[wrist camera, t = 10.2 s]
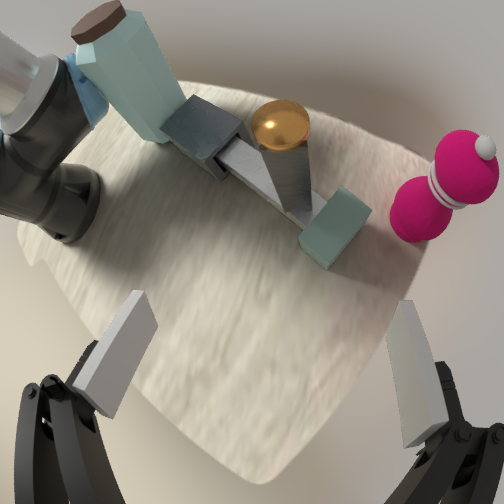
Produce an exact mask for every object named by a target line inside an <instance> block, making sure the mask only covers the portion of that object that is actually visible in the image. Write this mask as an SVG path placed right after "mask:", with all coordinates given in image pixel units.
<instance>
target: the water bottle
mask: <svg viewBox="0 0 504 504" xmlns="http://www.w3.org/2000/svg"><path fill="white" fill-rule="evenodd" d="M71 37H72V38H73V39H74V40H75V42H76V43H77V44H78V45H77V50H76V66H77V67H78V68H79V69H80V70H81V72H82V73H83V74H84V75H85V76H86V77H87V78H88V79H89V80H90V82H91V83H92V84H93V85H94V86H95V87H96V88H97V89H98V90H99V91H100V93H101V94H102V95H103V96H104V97H105V98H106V99H107V100H108V101H109V103H110V104H111V105H112V106H113V107H114V108H115V109H116V110H117V111H118V112H119V114H120V115H121V116H122V117H123V118H124V119H125V120H126V121H127V122H128V123H129V125H130V126H131V127H132V128H133V129H134V130H135V131H136V132H137V133H138V134H139V136H140V137H141V138H142V139H143V140H146V141H152V142H157V143H166V142H168V141H169V139H168V138H167V137H166V136H165V135H164V134H163V132H162V131H161V130H160V129H159V128H160V127H161V126H162V125H163V124H164V123H165V122H166V121H167V120H168V119H169V118H170V117H171V116H172V115H173V114H174V113H175V112H176V111H177V110H178V109H179V108H180V107H181V106H182V105H183V104H184V103H185V102H186V101H187V99H186V97H185V95H184V93H183V92H182V90H181V88H180V86H179V84H178V82H177V80H176V78H175V76H174V74H173V72H172V70H171V68H170V66H169V64H168V62H167V61H166V59H165V57H164V55H163V53H162V51H161V49H160V47H159V45H158V43H157V41H156V39H155V37H154V35H153V33H152V32H151V30H150V28H149V26H148V24H147V22H146V20H145V18H144V16H143V14H142V12H138V11H132V10H125V9H124V8H123V6H122V5H121V3H120V1H119V0H115V1H111V2H108V3H104V4H102V5H101V6H99V7H98V8H96V9H94V10H93V11H91V12H90V13H88V14H86V15H85V16H84V17H83V18H82V19H81V20H80V21H79V22H78V23H77V24H76V25H75V26H74V27H73V28H72V32H71Z"/></svg>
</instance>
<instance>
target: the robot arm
mask: <svg viewBox="0 0 504 504" xmlns="http://www.w3.org/2000/svg"><path fill="white" fill-rule="evenodd" d="M108 109H109V102H108V100H107V99H106V98H105V97H104V96H103V95H102V94H101V93H100V91H99V90H98V89H97V88H96V87H95V86H94V85H93V84H92V83H91V82H90V80H89V79H88V78H87V77H86V76H85V75H84V74H83V73H82V72H81V70H80V69H79V68H78V67H77V66H76V55H75V54H74V53H72V54H69V55H68V56H66V57H64V60H61V59H60V58H58V57H57V56H56V55H54V54H48V55H45V56H42V57H39V58H37V57H36V56H34V55H33V54H32V53H30V52H29V51H27V50H26V49H24V48H23V47H22V46H20V45H19V44H17V43H16V42H14V41H13V40H12V39H10V38H9V37H7V36H5V35H4V34H3V33H1V32H0V122H1V127H2V130H1V129H0V214H1V215H5V216H9V217H12V218H15V219H19V220H22V221H26V222H29V223H33V224H35V225H37V226H38V227H40V228H41V229H42V230H43V231H44V232H46V233H47V234H48V235H49V236H51V237H52V238H53V239H55V240H57V241H60V242H64V243H71V242H74V241H76V240H77V239H79V238H80V237H81V236H82V235H83V234H84V233H85V231H86V230H87V229H88V227H89V226H90V224H91V222H92V220H93V218H94V216H95V213H96V210H97V207H98V203H99V197H100V182H99V179H98V176H97V174H96V173H95V172H94V171H93V170H91V169H90V168H88V167H86V166H83V165H77V164H67V163H61V162H62V161H63V160H64V159H65V158H66V157H67V156H68V154H69V153H70V152H71V151H72V150H73V149H74V148H75V147H76V146H77V145H78V144H79V143H80V142H81V141H82V140H83V139H84V138H85V137H86V135H87V134H89V133H90V132H91V131H92V130H94V128H95V126H96V125H97V123H98V122H99V121H100V120H101V119H102V118H103V117H104V116H105V115H106V114H107V112H108ZM157 328H158V324H157V322H156V319H155V317H154V314H153V312H152V309H151V307H150V304H149V302H148V299H147V297H146V294H145V291H140V290H133V291H132V292H131V293H130V295H129V296H128V298H127V299H126V301H125V302H124V304H123V305H122V307H121V308H120V309H119V311H118V312H117V314H116V315H115V317H114V318H113V320H112V321H111V323H110V324H109V326H108V328H107V329H106V331H105V332H104V334H103V335H102V337H101V338H100V340H99V341H97V340H94V341H93V342H92V343H91V344H90V345H88V346H87V348H86V350H85V351H84V353H83V356H81V357H80V359H79V362H77V364H76V366H75V368H74V369H73V371H72V372H71V374H70V376H69V377H68V379H67V381H66V382H65V384H64V383H63V382H62V381H61V380H60V378H59V377H58V376H57V375H54V374H51V375H48V376H46V377H45V378H44V379H43V380H42V382H41V384H40V387H39V386H38V385H37V384H36V383H30V384H28V385H27V386H26V387H25V388H24V390H23V393H22V399H21V404H20V410H19V417H18V425H17V433H16V443H15V460H14V492H15V504H69V501H70V504H126V503H125V501H124V499H123V496H122V494H121V492H120V489H119V487H118V484H117V482H116V479H115V477H114V474H113V471H112V469H111V466H110V463H109V460H108V457H107V454H106V451H105V448H104V445H103V441H102V437H101V434H100V430H99V427H98V423H97V419H96V416H95V414H94V412H95V410H97V411H98V412H99V413H100V414H101V415H103V416H105V417H108V418H111V419H113V418H114V416H115V414H116V412H117V410H118V407H119V405H120V403H121V401H122V398H123V397H124V394H125V392H126V390H127V388H128V386H129V384H130V382H131V380H132V378H133V376H134V373H135V371H136V369H137V367H138V365H139V363H140V361H141V359H142V357H143V355H144V353H145V351H146V349H147V347H148V345H149V343H150V341H151V339H152V337H153V335H154V333H155V331H156V330H157ZM385 338H386V342H387V346H388V351H389V356H390V361H391V365H392V371H393V375H394V381H395V387H396V392H397V399H398V405H399V412H400V419H401V426H402V427H401V428H402V436H403V447H404V448H409V447H414V446H419V445H420V444H422V443H423V442H424V441H425V447H424V448H423V449H421V450H420V451H419V452H418V453H417V454H416V455H417V456H418V455H419V454H420V455H419V457H418V458H417V460H416V462H415V463H414V465H413V466H412V467H411V469H410V470H409V472H408V473H407V475H406V476H405V477H404V479H403V480H402V482H401V483H400V484H399V486H398V487H397V488H396V489H395V491H394V492H393V493H392V494H391V496H390V497H389V498H388V499H387V501H386V502H385V503H384V504H438V503H439V502H440V500H441V499H442V500H441V503H440V504H493V501H494V498H495V494H496V491H497V488H498V484H499V480H500V476H501V472H502V468H503V463H504V424H502V423H495V424H494V425H492V426H491V427H490V428H476V427H472V425H471V424H470V423H469V422H467V421H465V419H464V417H463V414H462V410H461V405H460V402H459V398H458V394H457V390H456V389H455V383H454V381H453V377H452V374H451V370H450V369H449V367H448V366H447V365H446V363H445V362H444V361H441V362H434V360H433V357H432V353H431V350H430V347H429V344H428V341H427V338H426V335H425V333H424V330H423V327H422V325H421V322H420V319H419V316H418V314H417V311H416V309H415V306H414V304H413V301H412V300H400V301H399V302H398V305H397V307H396V310H395V313H394V316H393V319H392V321H391V324H390V327H389V329H388V332H387V335H386V337H385ZM42 417H43V418H44V419H45V421H44V423H43V422H42ZM442 497H443V498H442Z"/></svg>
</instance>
